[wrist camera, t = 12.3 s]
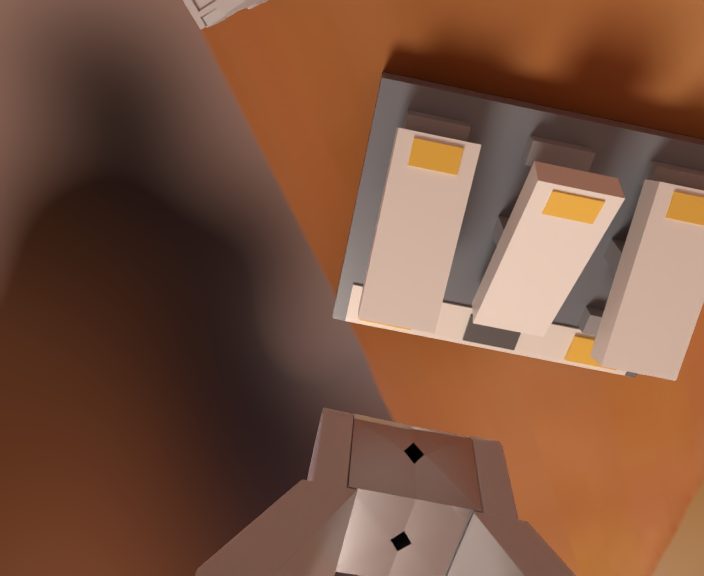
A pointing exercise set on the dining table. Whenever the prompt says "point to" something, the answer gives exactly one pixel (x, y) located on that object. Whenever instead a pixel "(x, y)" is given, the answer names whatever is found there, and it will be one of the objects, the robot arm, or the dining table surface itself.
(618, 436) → the dining table surface
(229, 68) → the dining table surface
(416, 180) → the block
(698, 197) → the block
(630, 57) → the dining table surface
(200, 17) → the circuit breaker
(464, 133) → the switch unit
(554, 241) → the rocker
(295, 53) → the dining table surface
